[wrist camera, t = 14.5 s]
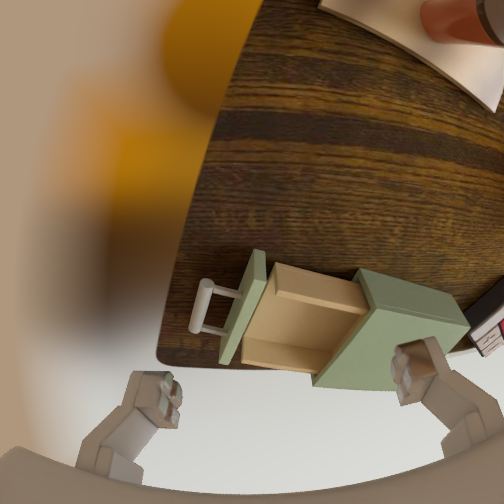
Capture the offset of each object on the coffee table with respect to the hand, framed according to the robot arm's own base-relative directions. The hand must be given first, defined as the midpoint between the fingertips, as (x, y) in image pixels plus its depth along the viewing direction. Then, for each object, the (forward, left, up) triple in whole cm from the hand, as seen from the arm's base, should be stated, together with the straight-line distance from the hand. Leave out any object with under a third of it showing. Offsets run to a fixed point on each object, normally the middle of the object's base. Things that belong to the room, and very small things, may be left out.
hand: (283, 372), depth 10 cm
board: (+9, +20, -20) cm, 30 cm away
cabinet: (+22, -14, -20) cm, 33 cm away
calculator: (+44, -8, -20) cm, 49 cm away
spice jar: (+9, +20, -19) cm, 29 cm away
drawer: (+7, -14, -19) cm, 25 cm away
